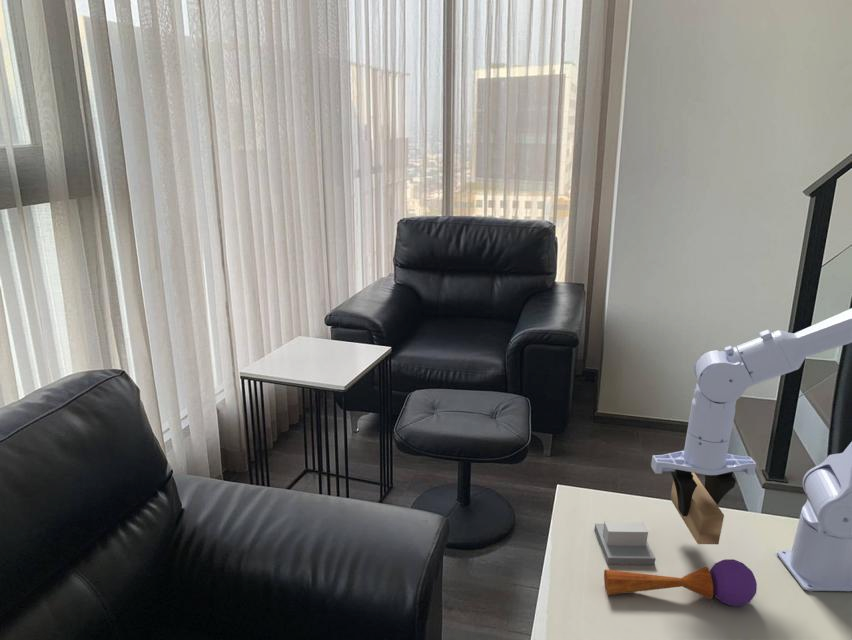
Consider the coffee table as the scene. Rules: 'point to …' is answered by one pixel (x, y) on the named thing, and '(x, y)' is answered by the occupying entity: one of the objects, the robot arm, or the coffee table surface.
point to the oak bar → (701, 515)
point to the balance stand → (625, 543)
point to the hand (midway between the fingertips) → (694, 512)
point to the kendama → (692, 582)
